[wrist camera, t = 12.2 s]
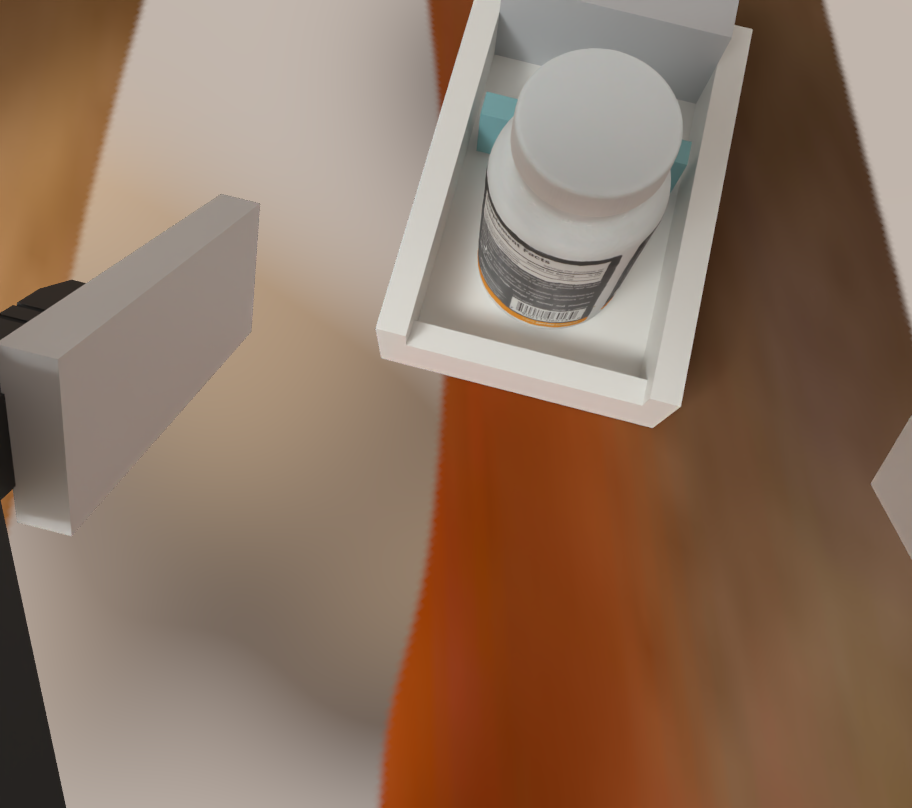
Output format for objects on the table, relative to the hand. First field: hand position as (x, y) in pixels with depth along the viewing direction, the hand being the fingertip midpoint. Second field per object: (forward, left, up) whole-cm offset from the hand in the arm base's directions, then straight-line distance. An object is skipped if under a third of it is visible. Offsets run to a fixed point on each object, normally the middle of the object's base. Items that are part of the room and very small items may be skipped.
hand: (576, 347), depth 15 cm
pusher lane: (-2, +11, -15) cm, 19 cm away
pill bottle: (-2, +8, -14) cm, 17 cm away
